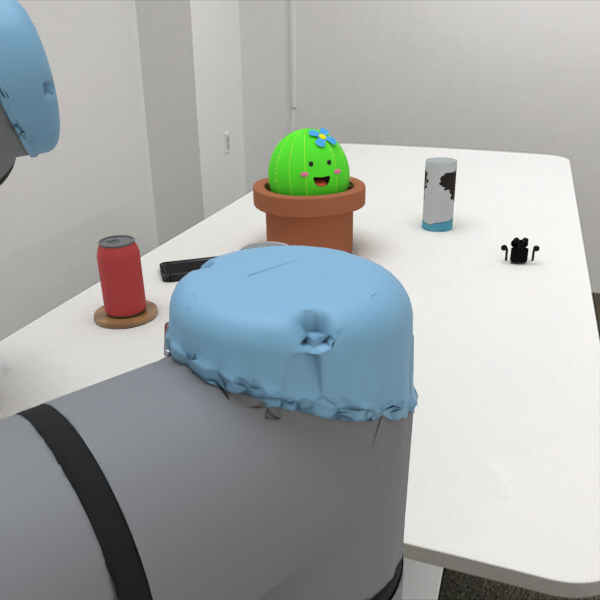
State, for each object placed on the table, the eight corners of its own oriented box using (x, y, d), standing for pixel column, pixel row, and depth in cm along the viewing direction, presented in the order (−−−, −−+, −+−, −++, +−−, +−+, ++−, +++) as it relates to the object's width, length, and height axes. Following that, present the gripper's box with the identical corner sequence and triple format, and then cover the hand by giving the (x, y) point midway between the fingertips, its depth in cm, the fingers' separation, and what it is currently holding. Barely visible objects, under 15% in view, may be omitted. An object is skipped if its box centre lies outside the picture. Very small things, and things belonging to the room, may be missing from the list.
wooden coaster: (84, 314, 106) (83, 310, 105) (139, 298, 112) (139, 294, 111) (111, 334, 99) (110, 330, 98) (169, 316, 105) (168, 311, 104)
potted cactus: (245, 240, 140) (238, 121, 130) (340, 229, 146) (340, 114, 136) (273, 274, 121) (267, 137, 111) (381, 260, 127) (385, 129, 117)
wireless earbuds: (499, 263, 124) (502, 238, 122) (498, 259, 126) (500, 234, 124) (538, 264, 123) (541, 239, 121) (535, 260, 125) (538, 235, 123)
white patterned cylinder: (458, 227, 145) (463, 160, 139) (437, 233, 142) (441, 164, 136) (436, 221, 150) (440, 156, 144) (415, 226, 147) (418, 160, 141)
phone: (158, 262, 125) (236, 253, 128) (159, 268, 125) (236, 259, 129) (162, 276, 118) (243, 267, 121) (163, 282, 118) (244, 272, 122)
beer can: (125, 300, 109) (116, 231, 104) (155, 307, 106) (147, 237, 101) (96, 314, 104) (84, 243, 99) (126, 322, 101) (116, 249, 96)
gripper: (150, 554, 35) (158, 352, 56) (384, 520, 37) (305, 337, 58) (134, 438, 32) (148, 271, 53) (389, 408, 34) (304, 258, 55)
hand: (230, 305), depth 56 cm, fingers closed
